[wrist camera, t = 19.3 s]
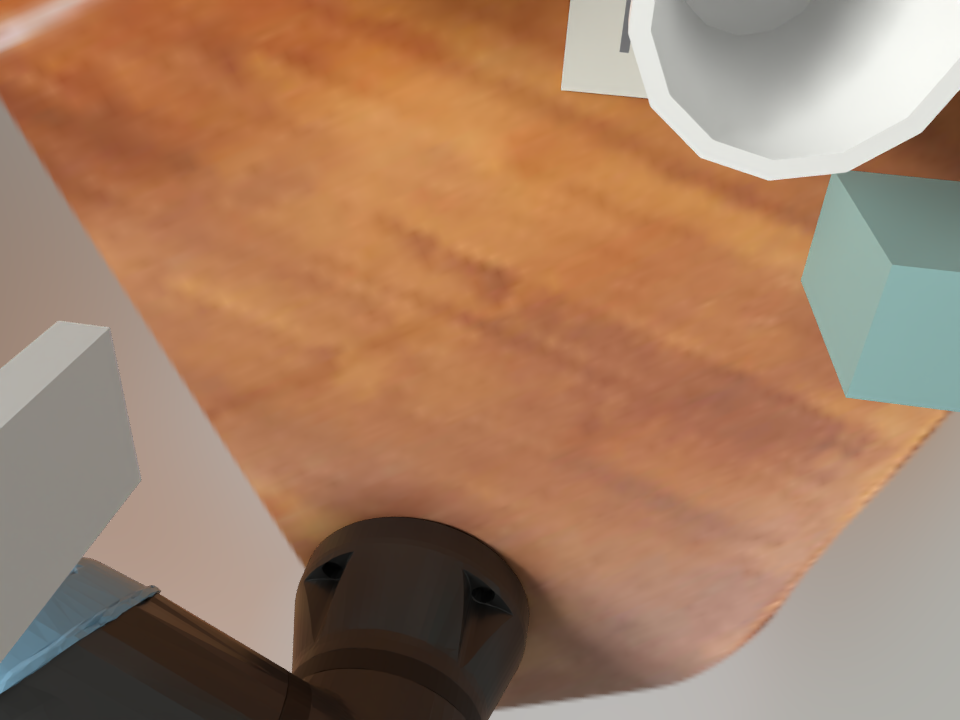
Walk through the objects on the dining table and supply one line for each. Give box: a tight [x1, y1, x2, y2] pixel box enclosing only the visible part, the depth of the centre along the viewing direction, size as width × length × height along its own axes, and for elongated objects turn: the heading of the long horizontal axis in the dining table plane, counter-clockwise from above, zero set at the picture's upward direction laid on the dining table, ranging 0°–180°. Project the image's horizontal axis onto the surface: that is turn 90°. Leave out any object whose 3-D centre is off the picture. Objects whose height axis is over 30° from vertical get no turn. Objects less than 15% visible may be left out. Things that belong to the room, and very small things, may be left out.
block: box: [801, 171, 960, 412], centre depth 34 cm, size 6×6×10 cm
